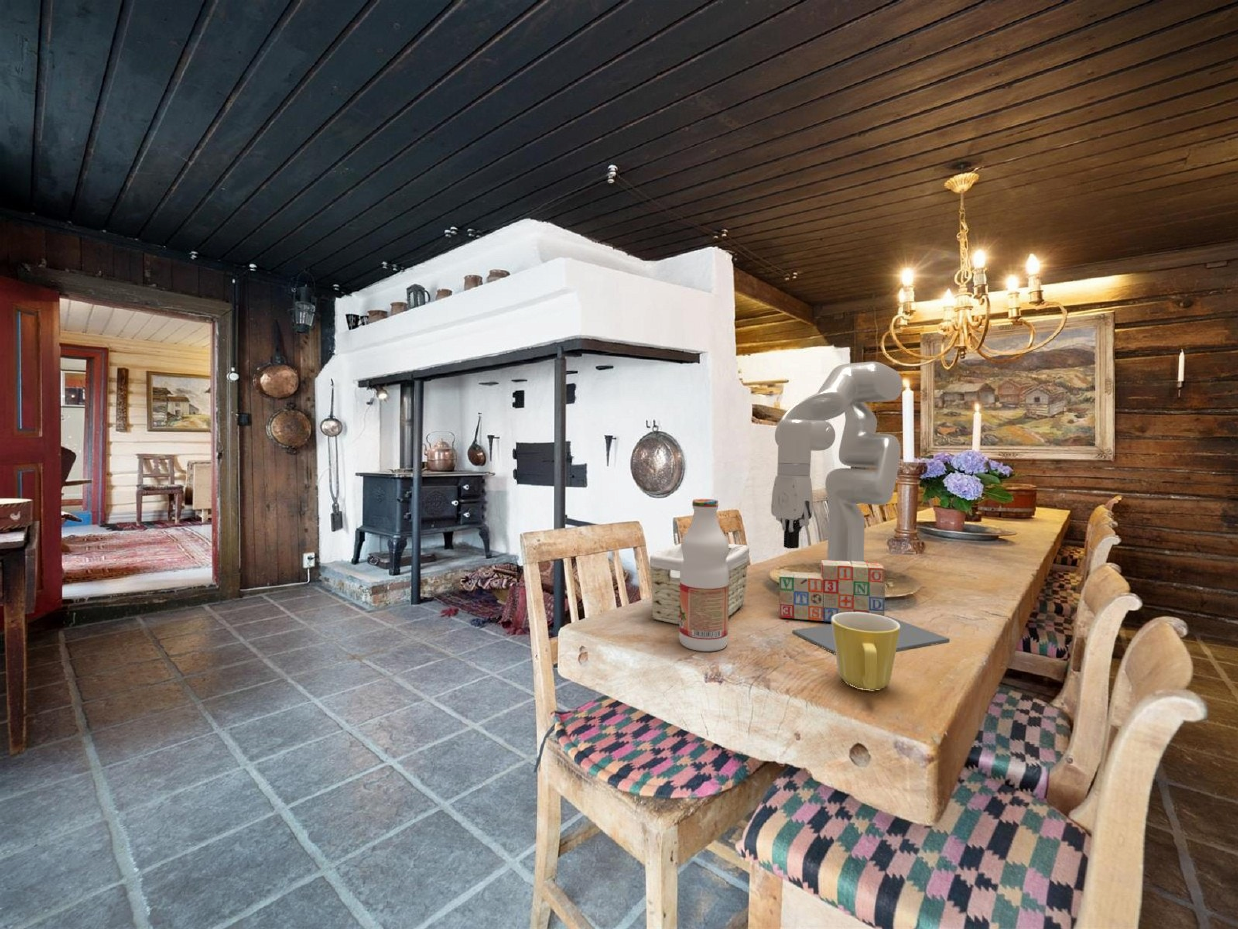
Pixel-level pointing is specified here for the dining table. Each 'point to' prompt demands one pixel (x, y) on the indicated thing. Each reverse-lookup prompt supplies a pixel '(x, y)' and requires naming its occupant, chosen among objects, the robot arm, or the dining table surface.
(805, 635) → the rubber mat
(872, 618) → the mug
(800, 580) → the stack of blocks
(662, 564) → the storage basket
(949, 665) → the dining table surface
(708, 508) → the fruit juice
